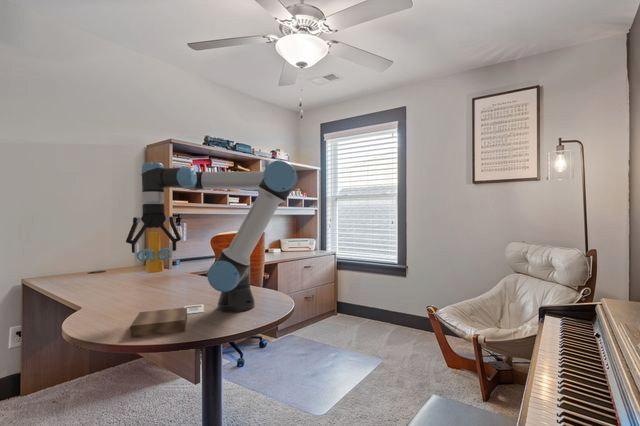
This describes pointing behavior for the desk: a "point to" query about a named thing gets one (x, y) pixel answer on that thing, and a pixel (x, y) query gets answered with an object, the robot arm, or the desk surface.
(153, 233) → the yellow post with rings
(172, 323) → the base block
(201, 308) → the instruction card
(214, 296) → the desk surface
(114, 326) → the desk surface
